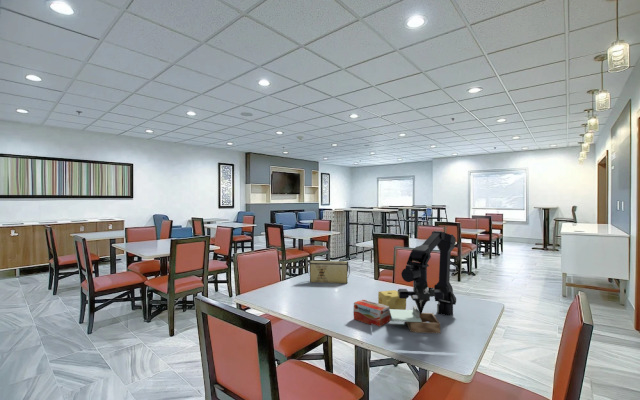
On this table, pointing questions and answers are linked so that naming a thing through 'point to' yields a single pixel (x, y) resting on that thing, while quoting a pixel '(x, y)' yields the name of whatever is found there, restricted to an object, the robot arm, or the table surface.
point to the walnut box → (425, 324)
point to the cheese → (391, 300)
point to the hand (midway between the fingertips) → (420, 313)
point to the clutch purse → (328, 271)
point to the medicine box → (371, 312)
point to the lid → (405, 315)
